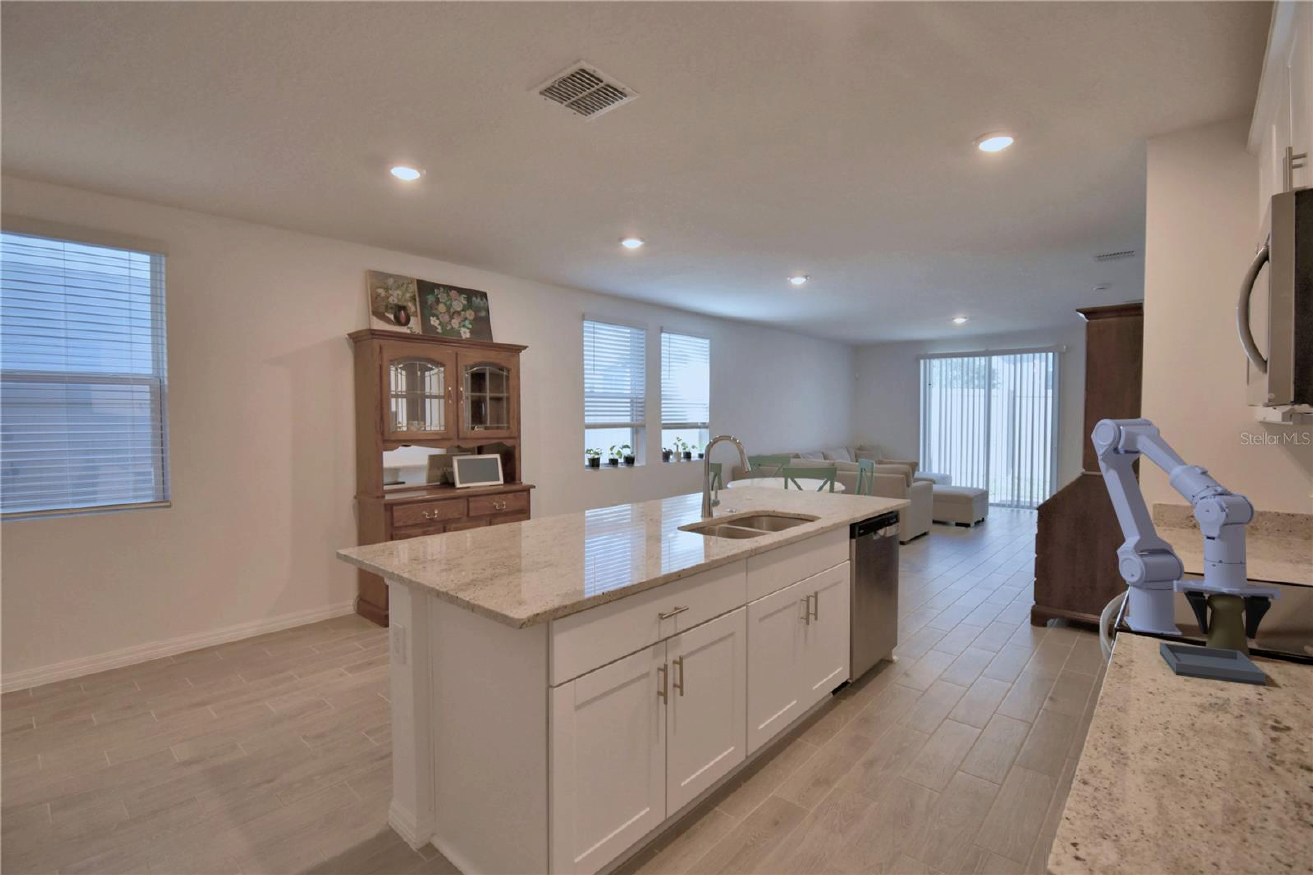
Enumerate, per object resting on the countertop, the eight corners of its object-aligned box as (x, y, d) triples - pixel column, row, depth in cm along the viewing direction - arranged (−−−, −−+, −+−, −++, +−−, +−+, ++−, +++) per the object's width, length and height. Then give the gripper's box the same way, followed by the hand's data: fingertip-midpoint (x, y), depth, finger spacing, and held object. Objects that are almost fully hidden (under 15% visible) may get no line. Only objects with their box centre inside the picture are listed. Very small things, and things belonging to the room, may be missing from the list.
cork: (1252, 662, 109) (1251, 599, 109) (1206, 655, 112) (1205, 595, 112) (1247, 652, 114) (1245, 592, 113) (1203, 646, 117) (1202, 588, 117)
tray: (1159, 653, 114) (1159, 642, 114) (1240, 662, 109) (1239, 650, 109) (1175, 674, 104) (1175, 662, 104) (1265, 685, 99) (1265, 673, 99)
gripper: (1179, 562, 113) (1181, 636, 113) (1288, 568, 106) (1290, 647, 106) (1169, 555, 119) (1171, 625, 119) (1271, 560, 112) (1273, 635, 112)
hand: (1226, 635), depth 113 cm, fingers open, 6 cm apart
